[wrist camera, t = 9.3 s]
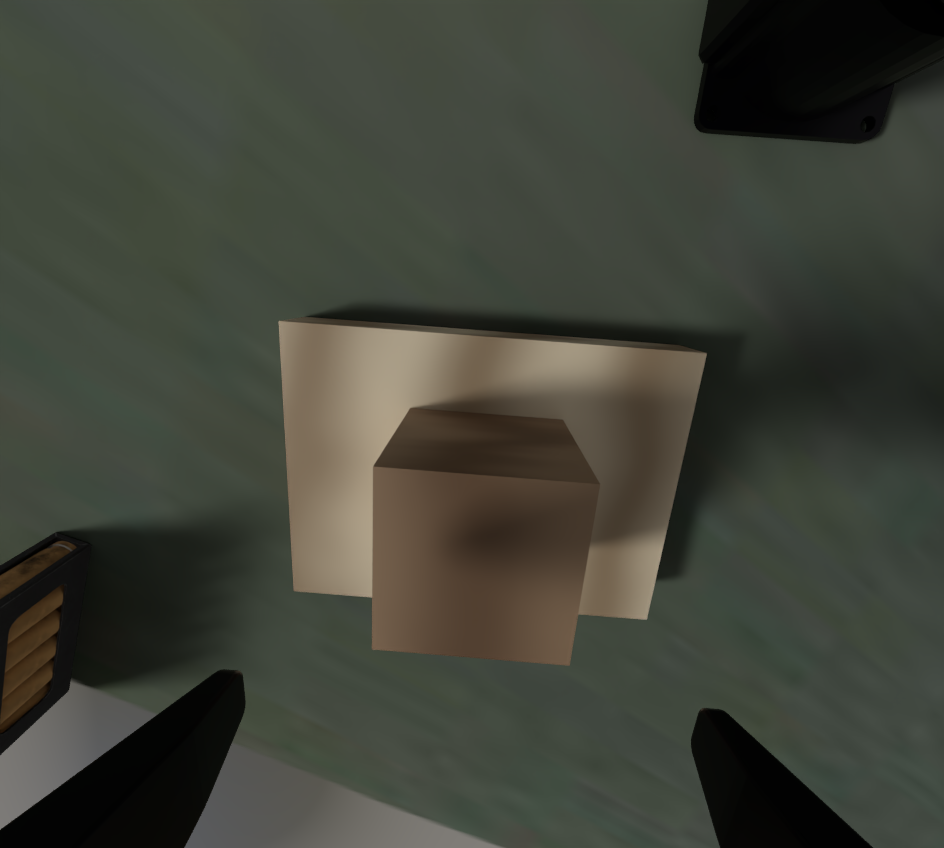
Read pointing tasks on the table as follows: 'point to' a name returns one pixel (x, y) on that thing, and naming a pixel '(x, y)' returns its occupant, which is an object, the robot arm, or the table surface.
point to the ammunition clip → (38, 629)
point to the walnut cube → (480, 537)
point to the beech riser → (490, 392)
